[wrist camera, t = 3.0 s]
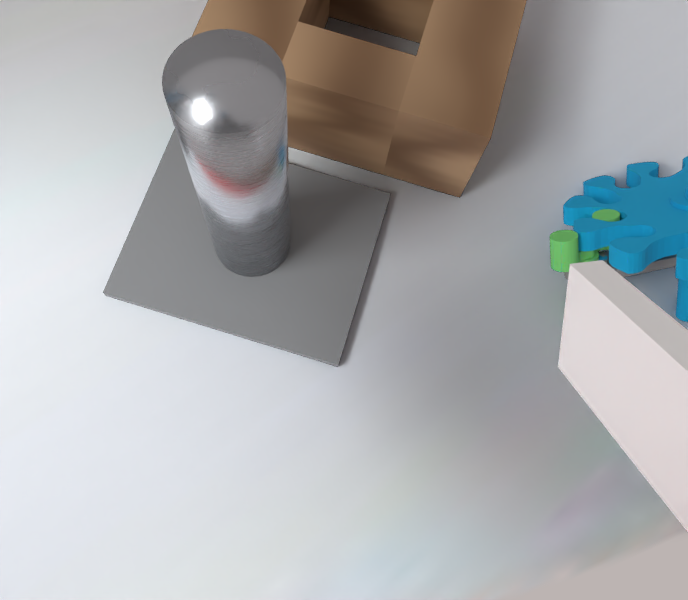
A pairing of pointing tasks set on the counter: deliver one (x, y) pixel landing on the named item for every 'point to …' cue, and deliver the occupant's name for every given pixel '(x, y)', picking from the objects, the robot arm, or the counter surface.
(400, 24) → the hole block
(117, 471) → the counter surface
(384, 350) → the counter surface
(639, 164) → the gear
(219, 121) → the peg
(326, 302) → the mat
